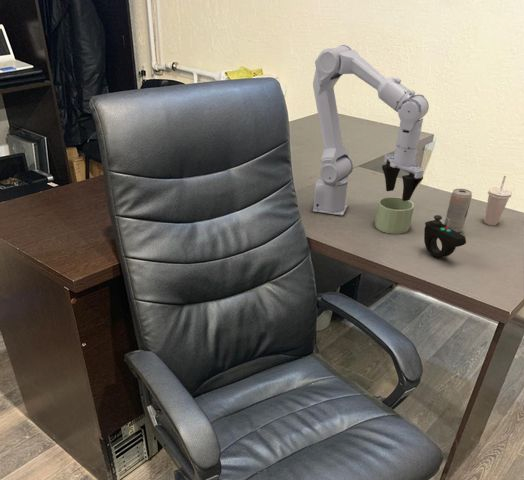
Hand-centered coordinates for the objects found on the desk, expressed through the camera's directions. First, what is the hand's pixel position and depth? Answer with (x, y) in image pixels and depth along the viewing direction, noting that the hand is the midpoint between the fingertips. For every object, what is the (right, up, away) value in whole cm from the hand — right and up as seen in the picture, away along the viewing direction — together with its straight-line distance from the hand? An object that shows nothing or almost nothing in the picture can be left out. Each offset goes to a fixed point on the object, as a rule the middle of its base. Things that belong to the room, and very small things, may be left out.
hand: (397, 195), depth 148 cm
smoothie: (+30, -6, +10) cm, 32 cm away
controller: (+9, -19, -9) cm, 23 cm away
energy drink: (+17, -10, +4) cm, 20 cm away
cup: (0, -7, +6) cm, 9 cm away
